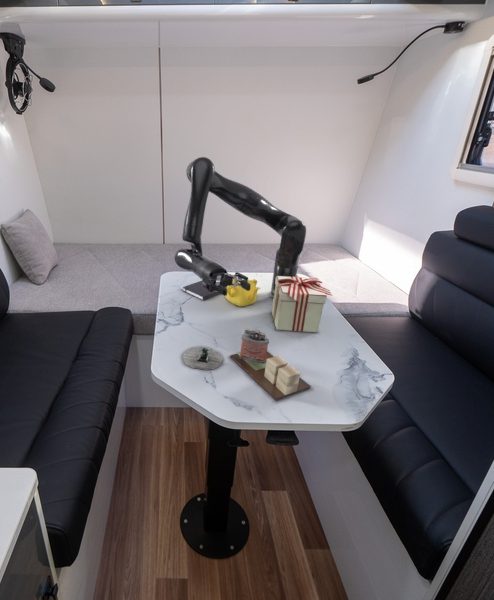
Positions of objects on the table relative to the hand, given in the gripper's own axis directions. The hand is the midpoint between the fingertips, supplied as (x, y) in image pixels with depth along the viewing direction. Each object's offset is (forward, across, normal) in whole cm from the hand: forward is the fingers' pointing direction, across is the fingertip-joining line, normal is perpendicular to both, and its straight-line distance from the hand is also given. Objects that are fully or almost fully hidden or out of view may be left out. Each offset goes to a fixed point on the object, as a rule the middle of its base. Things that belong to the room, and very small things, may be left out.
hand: (238, 290), depth 114 cm
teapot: (-25, +21, +20) cm, 38 cm away
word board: (+17, +1, +20) cm, 26 cm away
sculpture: (+3, -13, +20) cm, 24 cm away
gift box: (-2, +29, +20) cm, 35 cm away
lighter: (+11, 0, +19) cm, 22 cm away
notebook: (-42, +16, +20) cm, 49 cm away
